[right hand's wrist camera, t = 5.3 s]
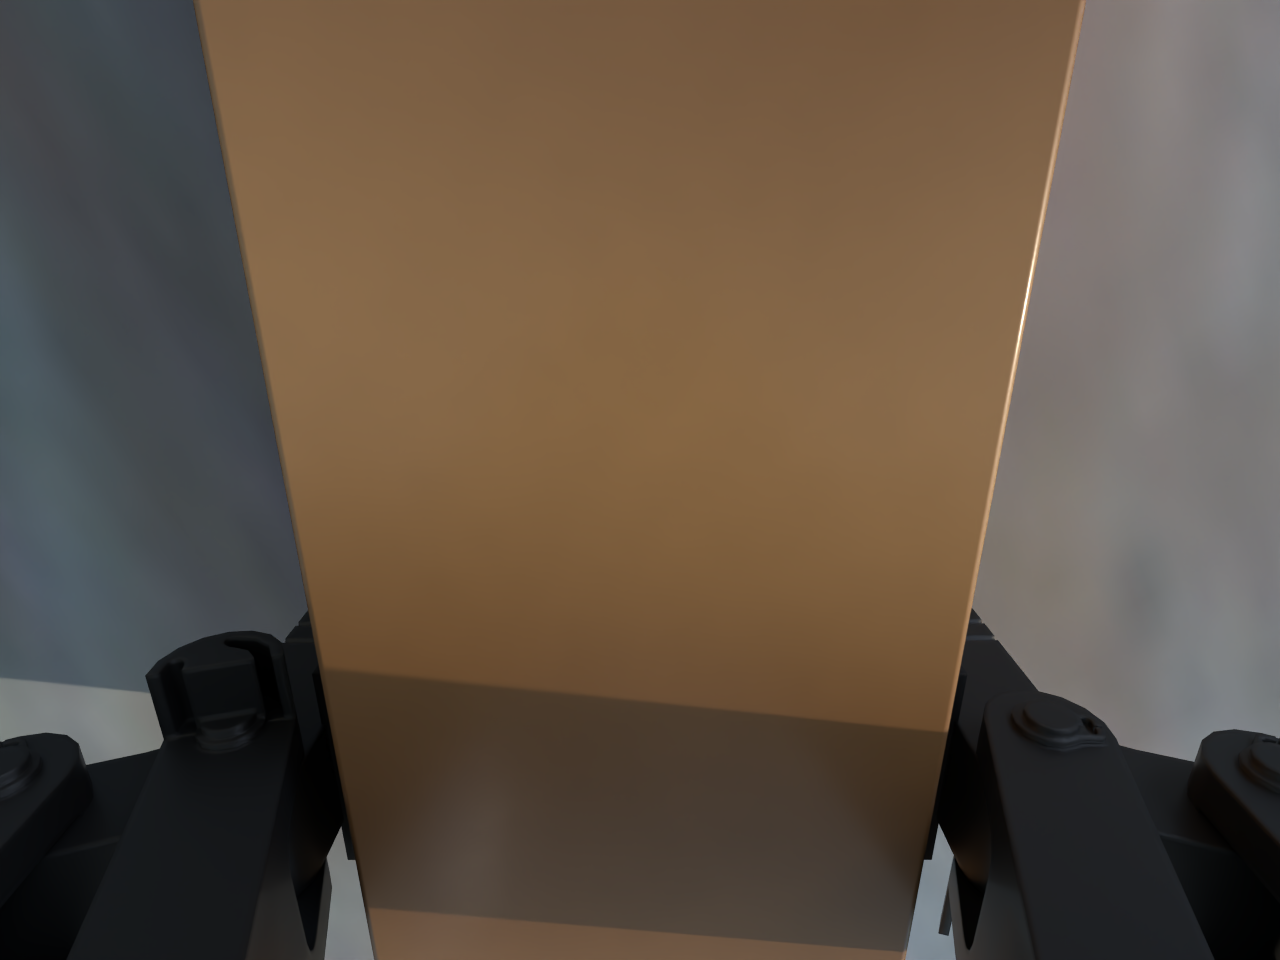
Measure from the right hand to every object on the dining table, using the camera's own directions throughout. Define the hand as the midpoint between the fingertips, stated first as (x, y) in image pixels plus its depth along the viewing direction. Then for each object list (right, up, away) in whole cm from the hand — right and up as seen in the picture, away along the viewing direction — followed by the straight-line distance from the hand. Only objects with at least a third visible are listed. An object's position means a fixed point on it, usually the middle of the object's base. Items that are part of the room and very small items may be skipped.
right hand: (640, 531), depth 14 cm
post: (0, +20, -7) cm, 21 cm away
